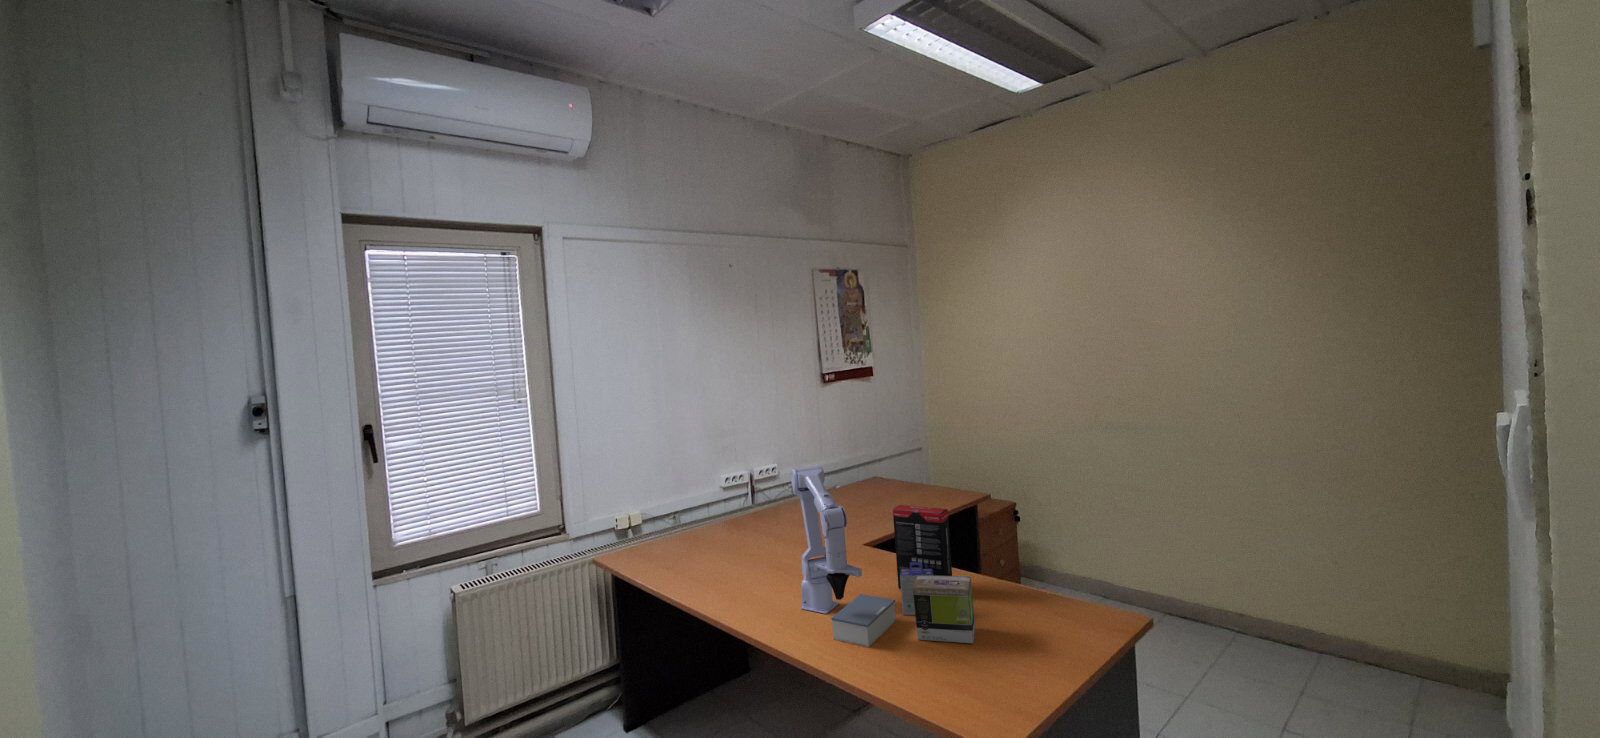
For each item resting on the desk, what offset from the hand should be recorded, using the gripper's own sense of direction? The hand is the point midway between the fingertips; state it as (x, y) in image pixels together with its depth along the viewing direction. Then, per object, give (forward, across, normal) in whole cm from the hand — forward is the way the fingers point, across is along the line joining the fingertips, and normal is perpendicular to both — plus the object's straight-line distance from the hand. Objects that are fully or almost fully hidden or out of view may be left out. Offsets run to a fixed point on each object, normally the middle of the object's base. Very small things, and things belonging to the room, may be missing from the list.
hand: (839, 598), depth 170 cm
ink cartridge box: (+11, +14, +22) cm, 28 cm away
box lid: (+5, +5, +5) cm, 8 cm away
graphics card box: (+11, +10, +37) cm, 40 cm away
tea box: (+11, +26, +12) cm, 31 cm away
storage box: (+10, +4, +5) cm, 12 cm away
